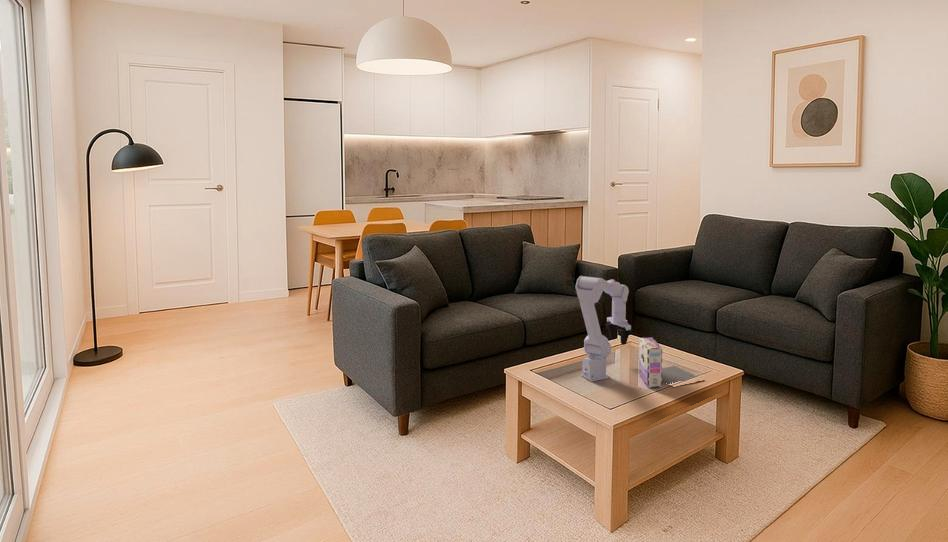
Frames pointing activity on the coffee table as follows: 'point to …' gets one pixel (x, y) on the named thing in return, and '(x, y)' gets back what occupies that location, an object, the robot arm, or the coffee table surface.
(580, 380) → the coffee table surface
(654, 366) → the candy box
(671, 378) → the mat
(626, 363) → the coffee table surface
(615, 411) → the coffee table surface
